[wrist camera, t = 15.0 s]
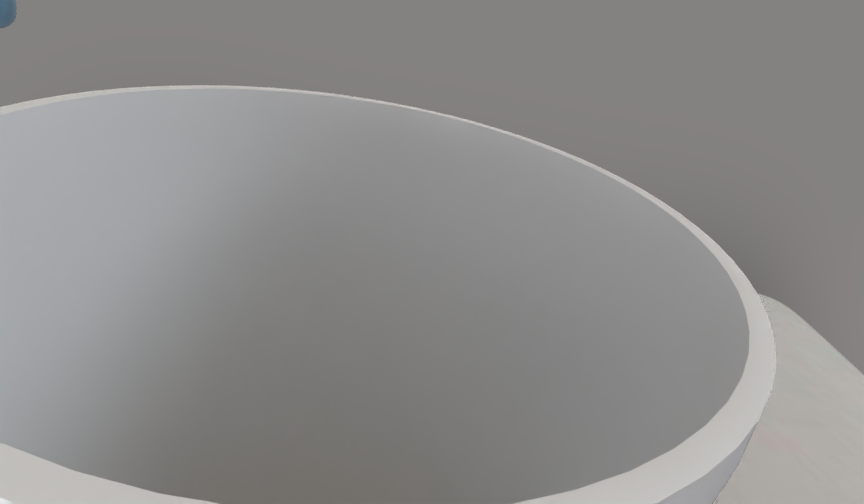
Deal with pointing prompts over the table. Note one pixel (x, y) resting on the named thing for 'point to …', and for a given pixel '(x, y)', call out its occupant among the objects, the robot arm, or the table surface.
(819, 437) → the table surface
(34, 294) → the cup
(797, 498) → the table surface
